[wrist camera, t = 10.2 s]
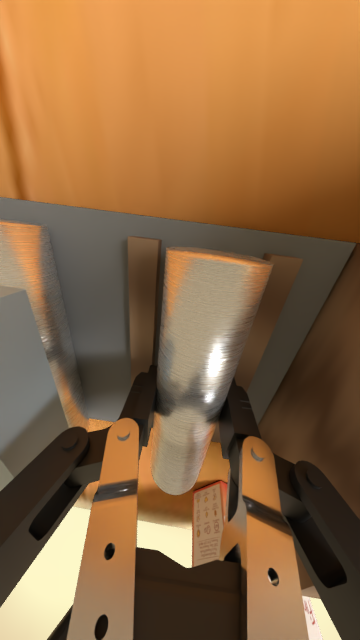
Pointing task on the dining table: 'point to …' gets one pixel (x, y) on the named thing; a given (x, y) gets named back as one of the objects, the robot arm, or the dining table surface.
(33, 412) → the slab
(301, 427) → the wooden stops
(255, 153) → the dining table surface
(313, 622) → the cracker box
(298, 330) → the mat
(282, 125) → the dining table surface
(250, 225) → the dining table surface
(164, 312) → the roller
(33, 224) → the bed rollers
